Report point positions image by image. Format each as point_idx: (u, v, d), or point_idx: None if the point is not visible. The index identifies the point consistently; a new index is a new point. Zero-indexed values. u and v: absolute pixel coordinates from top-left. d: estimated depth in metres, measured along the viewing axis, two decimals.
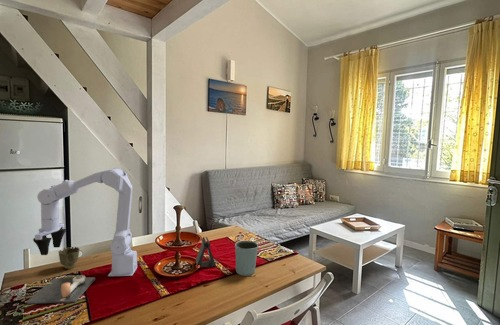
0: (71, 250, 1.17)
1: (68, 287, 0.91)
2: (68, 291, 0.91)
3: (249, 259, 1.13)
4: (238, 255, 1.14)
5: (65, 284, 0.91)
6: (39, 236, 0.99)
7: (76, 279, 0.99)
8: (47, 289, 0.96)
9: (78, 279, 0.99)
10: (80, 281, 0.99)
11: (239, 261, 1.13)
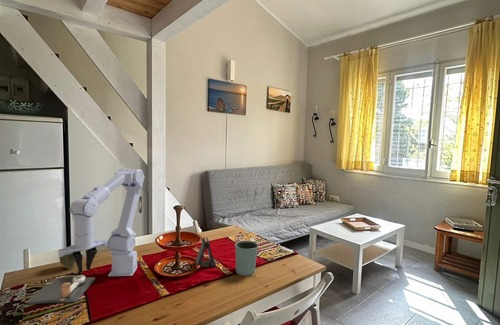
0: None
1: (68, 287, 0.91)
2: (68, 291, 0.91)
3: (249, 259, 1.13)
4: (238, 255, 1.14)
5: (65, 284, 0.91)
6: (59, 252, 0.87)
7: (76, 279, 0.99)
8: (47, 289, 0.96)
9: (78, 279, 0.99)
10: (80, 281, 0.99)
11: (239, 261, 1.13)
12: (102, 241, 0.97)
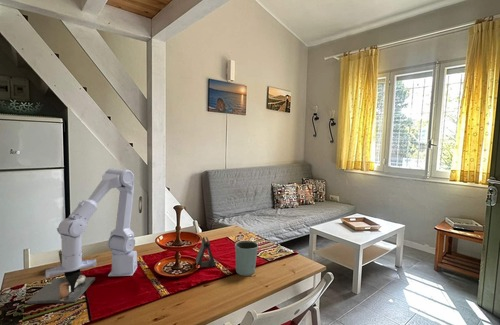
0: None
1: (66, 287, 0.91)
2: (66, 291, 0.91)
3: (249, 259, 1.13)
4: (238, 255, 1.14)
5: (63, 284, 0.91)
6: None
7: None
8: (47, 289, 0.96)
9: (78, 279, 0.99)
10: (80, 281, 0.99)
11: (239, 261, 1.13)
12: (91, 261, 0.95)
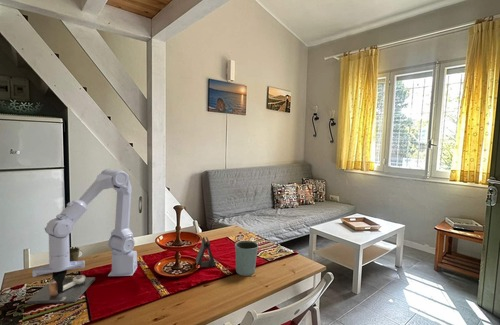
0: (71, 250, 1.17)
1: (54, 286, 0.91)
2: (54, 290, 0.91)
3: (249, 259, 1.13)
4: (238, 255, 1.14)
5: (53, 283, 0.92)
6: None
7: (75, 279, 0.99)
8: (47, 289, 0.96)
9: (76, 279, 0.99)
10: (77, 282, 0.99)
11: (239, 261, 1.13)
12: (79, 262, 0.94)
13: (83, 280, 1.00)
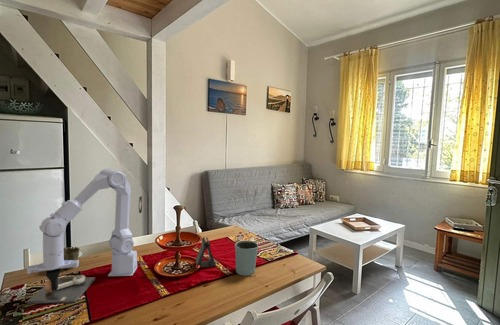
0: (71, 250, 1.17)
1: (48, 284, 0.93)
2: (48, 288, 0.93)
3: (249, 259, 1.13)
4: (238, 255, 1.14)
5: (49, 280, 0.94)
6: None
7: (74, 278, 1.00)
8: None
9: (75, 279, 0.99)
10: (75, 282, 0.99)
11: (239, 261, 1.13)
12: (73, 261, 0.94)
13: (81, 281, 1.00)
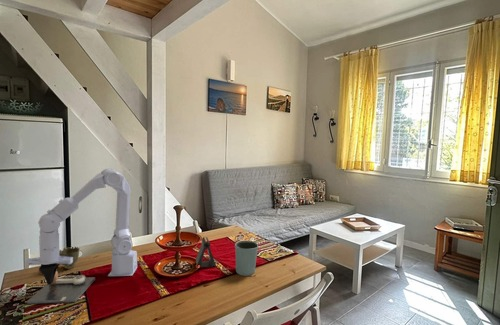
0: (71, 250, 1.17)
1: None
2: None
3: (249, 259, 1.13)
4: (238, 255, 1.14)
5: None
6: None
7: (75, 277, 1.01)
8: (47, 289, 0.96)
9: (74, 278, 1.00)
10: (73, 281, 0.99)
11: (239, 261, 1.13)
12: (67, 258, 0.97)
13: (77, 282, 0.99)
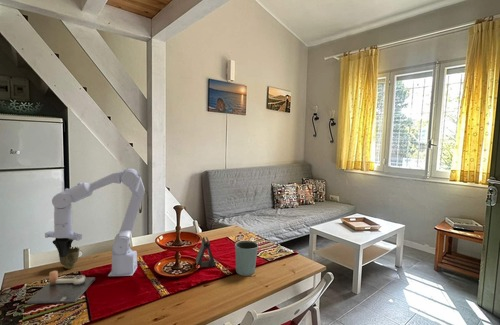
0: (71, 250, 1.17)
1: (50, 275, 0.98)
2: (50, 279, 0.98)
3: (249, 259, 1.13)
4: (238, 255, 1.14)
5: (53, 272, 1.00)
6: None
7: (75, 277, 1.01)
8: (47, 289, 0.96)
9: (74, 278, 1.00)
10: (73, 281, 0.99)
11: (239, 261, 1.13)
12: (76, 235, 1.02)
13: (77, 282, 0.99)
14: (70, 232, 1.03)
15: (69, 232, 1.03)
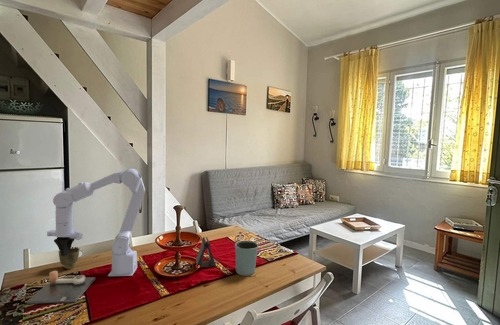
0: (71, 250, 1.17)
1: (50, 275, 0.98)
2: (50, 279, 0.98)
3: (249, 259, 1.13)
4: (238, 255, 1.14)
5: (53, 272, 1.00)
6: None
7: (75, 277, 1.01)
8: (47, 289, 0.96)
9: (74, 278, 1.00)
10: (73, 281, 0.99)
11: (239, 261, 1.13)
12: (77, 234, 1.03)
13: (77, 282, 0.99)
14: (71, 231, 1.04)
15: (70, 231, 1.04)
